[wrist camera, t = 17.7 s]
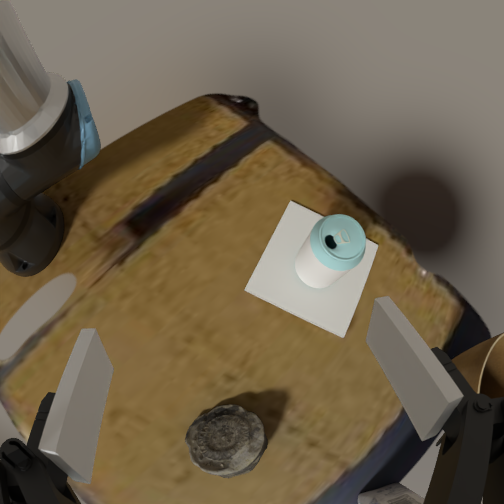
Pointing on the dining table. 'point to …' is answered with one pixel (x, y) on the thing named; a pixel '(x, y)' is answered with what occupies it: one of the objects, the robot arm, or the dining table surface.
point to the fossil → (226, 441)
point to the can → (330, 250)
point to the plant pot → (484, 367)
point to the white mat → (294, 289)
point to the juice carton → (390, 496)
